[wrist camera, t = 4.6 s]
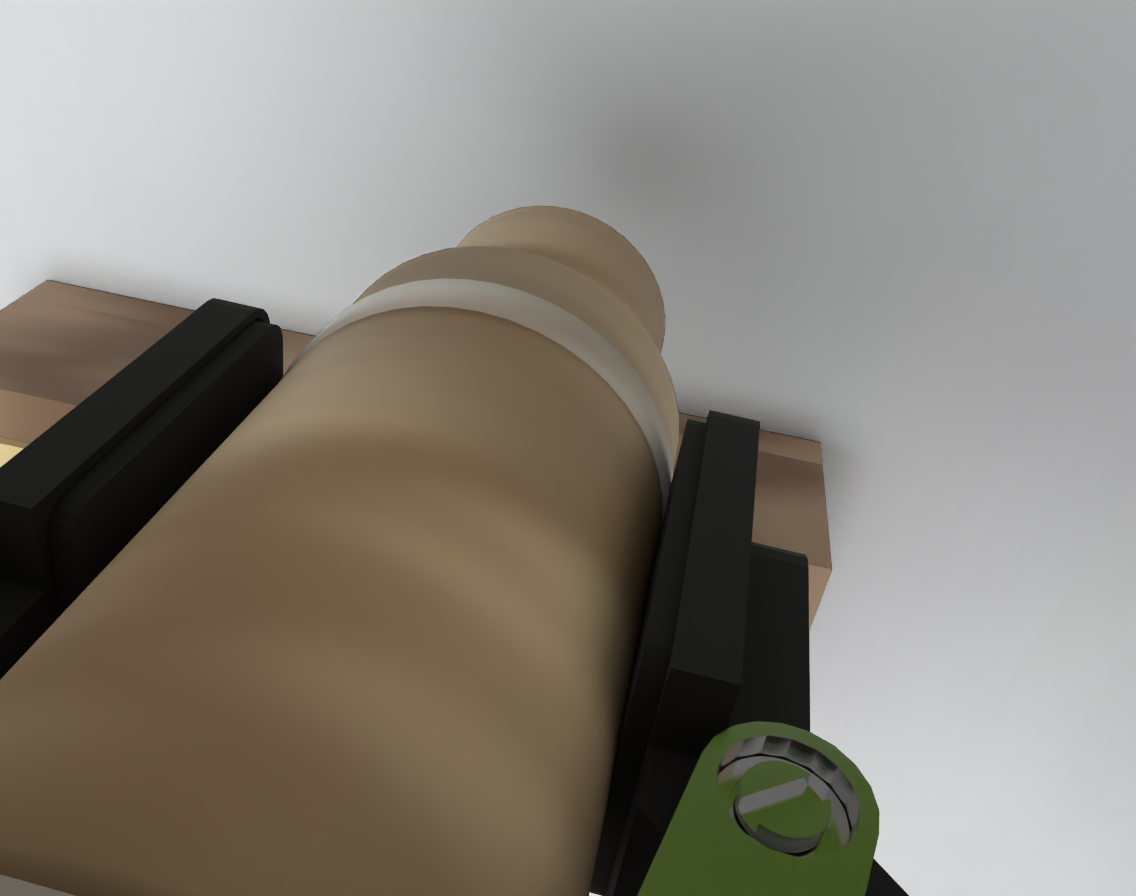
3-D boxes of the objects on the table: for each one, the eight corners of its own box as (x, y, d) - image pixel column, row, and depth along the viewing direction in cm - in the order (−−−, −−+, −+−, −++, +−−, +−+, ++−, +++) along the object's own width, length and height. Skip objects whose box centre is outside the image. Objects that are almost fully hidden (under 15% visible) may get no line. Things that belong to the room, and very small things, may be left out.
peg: (735, 203, 14) (600, 1001, 4) (669, 477, 16) (491, 1363, 7) (413, 135, 14) (-340, 737, 5) (395, 413, 16) (-126, 1170, 7)
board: (820, 443, 25) (833, 575, 21) (718, 743, 31) (711, 896, 27) (46, 280, 26) (-97, 373, 22) (92, 600, 32) (-13, 724, 28)
